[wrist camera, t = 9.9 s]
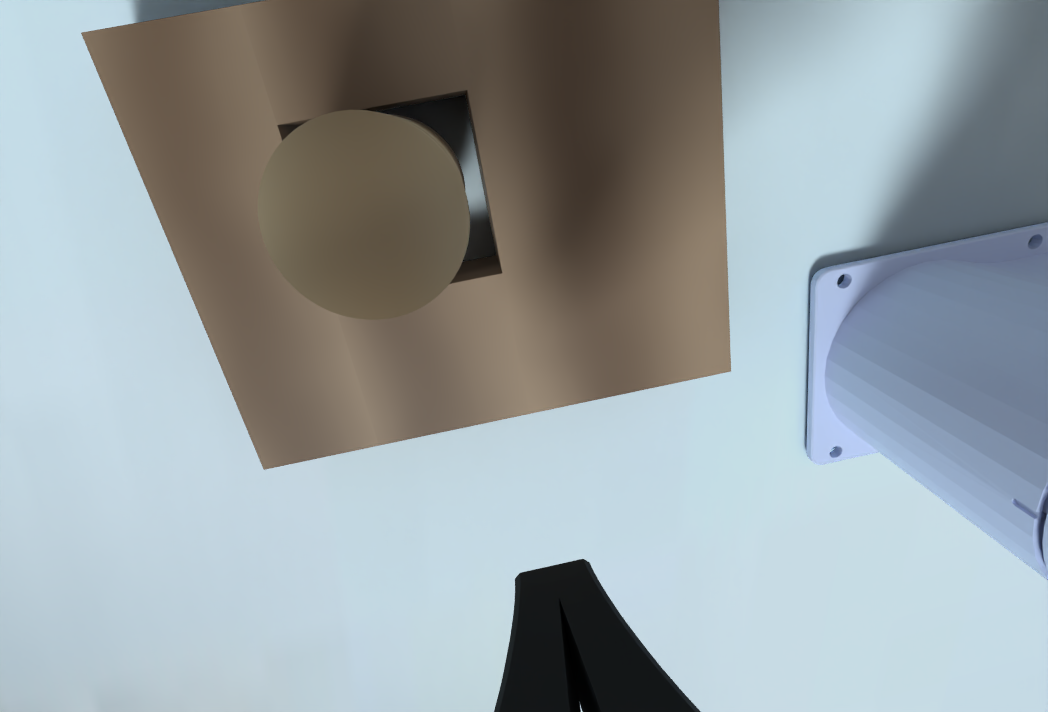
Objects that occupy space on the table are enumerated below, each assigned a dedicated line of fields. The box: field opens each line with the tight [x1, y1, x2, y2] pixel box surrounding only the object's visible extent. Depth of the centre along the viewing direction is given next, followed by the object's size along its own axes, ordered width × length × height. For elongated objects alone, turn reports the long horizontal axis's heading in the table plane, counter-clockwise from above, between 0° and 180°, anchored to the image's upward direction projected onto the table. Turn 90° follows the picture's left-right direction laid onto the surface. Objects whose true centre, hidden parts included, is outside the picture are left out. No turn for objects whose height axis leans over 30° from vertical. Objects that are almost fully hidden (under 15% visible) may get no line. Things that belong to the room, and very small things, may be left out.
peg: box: [258, 110, 470, 320], centre depth 14 cm, size 4×4×8 cm
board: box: [81, 0, 731, 470], centre depth 17 cm, size 15×12×2 cm
